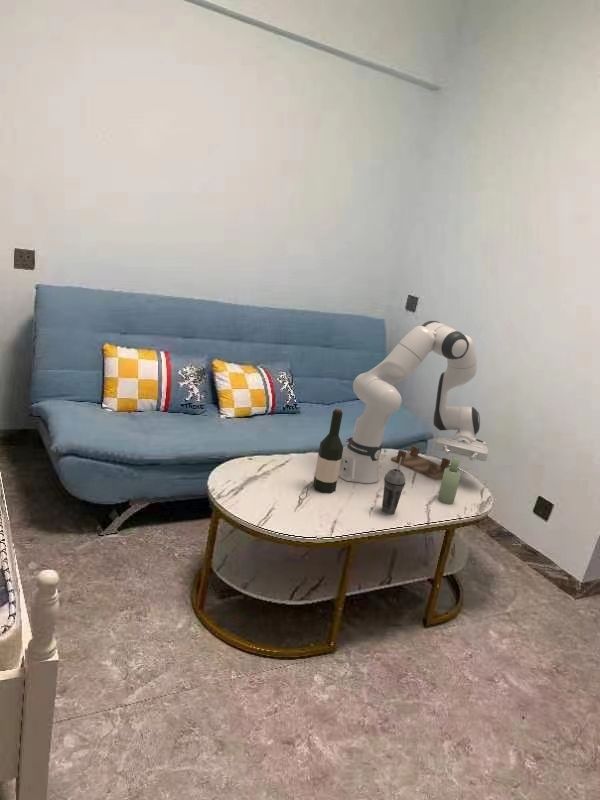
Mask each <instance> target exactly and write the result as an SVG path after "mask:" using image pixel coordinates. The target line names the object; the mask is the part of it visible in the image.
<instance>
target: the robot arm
mask: <svg viewBox="0 0 600 800" xmlns="http://www.w3.org/2000/svg"><path fill="white" fill-rule="evenodd" d="M430 352H433V353H435V354H436V355H439V356H442V357H444V358H445V359H447V360H446V361H447V363H446V364H447V367H446V370H445V371H444V372H442V373H441V374H440V376H439V380H438V386H437V390H436V391H437V392H436V402H435V409H434V411H433V416H432V423H433V426H434V427H435V428H436V429H437V430H438V431H456V432H455V434H454V437H453V438H448V437H443V436H440V437H438V438H437V439H436V440H435V445H434V449H435V450H437V451H439V452H444V454H445V455H449V454H452V455H457V456H459V457H465V458H469V459H468V460H469V461H474V460H477V461H479V462H480V461H481V462H487V458H488V454H489V448H488V446H487V442H486V441H483V440H481V439H478V437H477V434H478V433H479V431H480V426H481V419H480V418H481V417H480V413H479V411H478V410H477V409H476V408H475V407H473V406H448V405H447V404H446V403H447V397H448V392H449V391H450V390H452V389H455V388H458V387H459V386H463V385H465V384H467V383H469V382H470V381H471V380H473V379H474V377H475V376H476V373H477V362H478V361H477V353H476V348H475V343H474V340H473V339H472V337H471V336H469V335H466V334H463V333H462V332H461V331H458V330H456V329H455V328H453V327H452V326H450V325H448V324H445V323H442V322H440V321H438V320H429V321H426V322H424V323H423V324H422V325H417V326H415V327H413V328H412V329H411V330H410V331H409V332H408V333H406V335H404V336H403V337H402V338H401V339H400V341H399V342H398V343H397V344H396V345H395V347H394V348H393V349H392V350H391V352H390V353H389V354H388V355H387V356H386V357H385V358H384V359H383V360H382V361H381V362H380V363H378V364H377V365H376V366H374V367H373V368H371V369H370V370H367V371H365V372H363V373H360V374H358V375H357V376H356V377H355V379H354V380H353V383H352V389H353V390H352V391H353V392H354V394H355V396H356V397H357V398H358V399H359V400H360V401H362V402H363V403H364V404H365V407H364V410H363V412H362V414H361V415H360V416H358V417H357V419H355V420H356V421H355V423H354V430H353V435H352V437H349V438H347V439H346V441H345V443H347V445H343V453H342V458H341V464H340V469H339V474H338V478H341V479H342V480H344V481H346V482H355V483H359V484H360V483H362V484H374V483H376V482H378V481H379V462H380V461H379V460H380V457H381V453H382V448H383V444H382V442H383V437H384V433H385V429H386V425H387V423H388V421H389V419H390V418H391V416H392V415H393V414H395V413H397V412H398V411H399V409H400V408H401V406H402V404H403V400H402V396H401V394H400V392H399V391H398V390H397V388H396V387H395V386H394V385H396V384H397V383H399V382H401V381H404V380H407V379H409V378H410V377H411V376H412V375H413V373H414V372H415V371H416V370H417V368H418V367H419V366H420V365H421V364H422V362H423V361H424V359H425V358H426V357H427V355H429V353H430Z"/></svg>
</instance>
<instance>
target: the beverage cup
mask: <svg viewBox="0 0 600 800" xmlns="http://www.w3.org/2000/svg"><path fill="white" fill-rule="evenodd" d="M401 459H402V457H400V461H399V464H398V466H397V468H393V469H390V470H389V471H387V472H386V474H385V476H384V478H383V481H384V482H383V483H384V484H383V485H384V487H383V495H382V503H381V511H382V513H383V514H386V515H391V516H393V515H395V513H396V511H397V508H398V505H399V501H400V499H401V495H402V493H403V492H402V491H403V490H404V488H405V485H406V476H405V474H404V472H403V471H402V470H401V469H400V466H401V465H400V463H401Z"/></svg>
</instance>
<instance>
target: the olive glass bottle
mask: <svg viewBox="0 0 600 800" xmlns="http://www.w3.org/2000/svg"><path fill="white" fill-rule="evenodd" d="M460 460H461V459H460V458H459V457H458V456H452V458H451V460H450V464H449V467H447V468H445V470H444V474H443V478H441V479H442V480H441V483H440V488H439V491H438V494H437V501H438V502H440V503H442V504H444V505H445V504H446V505H453V504H454V503H455V501H456V500H455V499H456V497H457V496H456V495H457V492H458V488H459V484H460V479H461V475H462V471H461V470H460V469H459V464H460Z"/></svg>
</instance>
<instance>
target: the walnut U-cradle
mask: <svg viewBox="0 0 600 800" xmlns="http://www.w3.org/2000/svg"><path fill="white" fill-rule="evenodd" d="M419 452H420V447H418V446H415V445H411V448H410V451H405V450H402V449H399V450H397V455H395V456H392V457H391V458H390V461H391V462H393V463H395V464H398V465H399V461H400V457H402V459H401V463H400V466H403V467H405V468H407V469H409V470H412V471H414V472H416V473H419V474H421V475H423V476H425V477H428V478H430V479H433V480H435V481H438V480H441V479H442V478H443V474H444V470H445V468H447V467H450V465H451V459H448V458H445V457H442V459H441V463H436V462H434V461H432V460H430V459H428V458H425V457H422V456H420V455H419ZM440 478H441V479H440Z"/></svg>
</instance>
